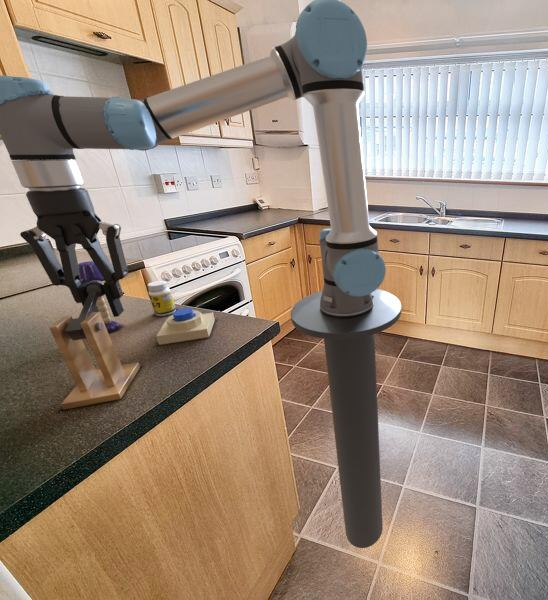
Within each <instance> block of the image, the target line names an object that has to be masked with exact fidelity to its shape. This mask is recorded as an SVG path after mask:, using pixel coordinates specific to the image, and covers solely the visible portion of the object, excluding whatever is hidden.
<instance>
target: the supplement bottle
mask: <svg viewBox="0 0 548 600" xmlns="http://www.w3.org/2000/svg"><path fill="white" fill-rule="evenodd" d="M147 289H148V297H149V300H150V303H151V305H152V309H153V312H154V315H155V316H157V317H166V316H171V315H173V312H175V311H177V308H176V304H175V301H174V298H173V294H172V291H171V289H170V288H169V287H168V283H167V281H166V280H155V281H151V282H149V283H147Z"/></svg>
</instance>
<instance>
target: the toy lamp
mask: <svg viewBox="0 0 548 600" xmlns="http://www.w3.org/2000/svg"><path fill="white" fill-rule="evenodd" d="M78 267H79V272H80V277H81V280H82V279H83V281H82V282H80V283H81V284H82V283H88V282H90V281H93V280H99V281H103V280H104V278H103V277H102V275H101V273H100V272H99V270H98V269H97V267H96V265H95V264H94V262H93V260H91V261H83V262H80V263H79V262H78ZM96 305H97V307H98V310H99V312H100V314H101V317H102V319H103V322H104V324H105V326H106V329H107V331H108V334H110V333H113V332H115V331H118V330H119V329H121V324H120V323H119V322H118V321H116V320H112V317H110V312H109V310H108V306H107V304H106V300H105V299H104V296H101V297H98V299H97V302H96Z"/></svg>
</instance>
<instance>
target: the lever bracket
mask: <svg viewBox="0 0 548 600" xmlns="http://www.w3.org/2000/svg"><path fill="white" fill-rule="evenodd" d="M70 319H73V317H72V315H71V314H70V315H63V316H62V317H60V319H58V320H57V321H55V322H54V323H53V324H51V326H49V327H48V329H49V330H50V331H49V332H50V333H51V334H52V337H53V339H54V341H55V343H56V345H57V347H58V350H59V352H60V354H61V355H62V357H63V360H64V362H65V363H66V365H67V368H68V369H69V372H70V373H71V376H72V378H73V380H74V382H75V385H76V386H74V387H73V389H72V390H71V392H70V393H69V394H68V395H67V396H66V397H65V399H64V400H63V401H62V402H61V404H60V405H61V408H62V410H69V409H70V410H71V409H74V408H81V407H84V406H85V407H86V406H91V405H97V404H101V403H106V402H107V403H108V402H112V401H117V400H121V399H122V398H123V396H124V395H125V393H126V391H127V390H128V388H129V387H130V385H131V383H132V382H133V380H134V379H135V377H136V375H137V373H138V371H139V370H140V368H141V365H140V363H139V362H131V363H125V364H122V363H121V360H120V358H119V357H118V353H117V351H116V348H115V346H114V343H113V342H112V338H111V337H110V333H108V331H107V329H106V326H105V324H104V322H103V319H102V317H101V314H100V312H93V313H92V314H90V315H89V316H88V317H87V318H86V319H85V320H84V321H83V322H82V323H80V324H81V327H82V329H83V331H84V333H85V336H86V338H87V339H86V340H87V342H88V344H89V348H90V349H91V352H92V354H93V356H94V358H95V360H96V362H97V363H96V364H97V366H98V367H99V368H97V369H96V368H95V365H94V363H93V361H92V358H91V357H90V354H89V352H88V349H87V347H86V345H85V343H84V340H83V339H80V340H72V339H71V338H70V337H69V336H68V334H67V333H66V332H65V330H66V328H67V326H68V324H69V321H70Z"/></svg>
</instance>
